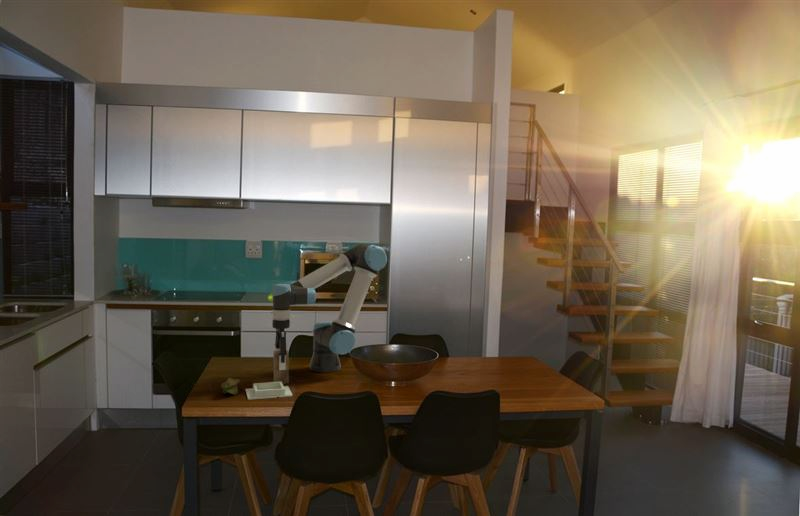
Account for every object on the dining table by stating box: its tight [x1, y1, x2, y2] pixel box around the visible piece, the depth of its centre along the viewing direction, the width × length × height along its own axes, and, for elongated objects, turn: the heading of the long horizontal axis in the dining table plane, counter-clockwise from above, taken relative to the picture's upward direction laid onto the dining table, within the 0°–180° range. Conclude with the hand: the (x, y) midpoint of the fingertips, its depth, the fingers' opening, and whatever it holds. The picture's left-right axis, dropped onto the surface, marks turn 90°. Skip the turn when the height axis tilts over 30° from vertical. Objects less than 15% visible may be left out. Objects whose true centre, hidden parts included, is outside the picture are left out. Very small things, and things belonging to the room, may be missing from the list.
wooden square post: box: [273, 349, 290, 385], centre depth 274 cm, size 6×5×14 cm
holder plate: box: [245, 381, 294, 401], centre depth 258 cm, size 18×14×3 cm
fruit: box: [220, 377, 241, 395], centre depth 257 cm, size 11×12×7 cm
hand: (280, 366), depth 274 cm, fingers open, 13 cm apart
